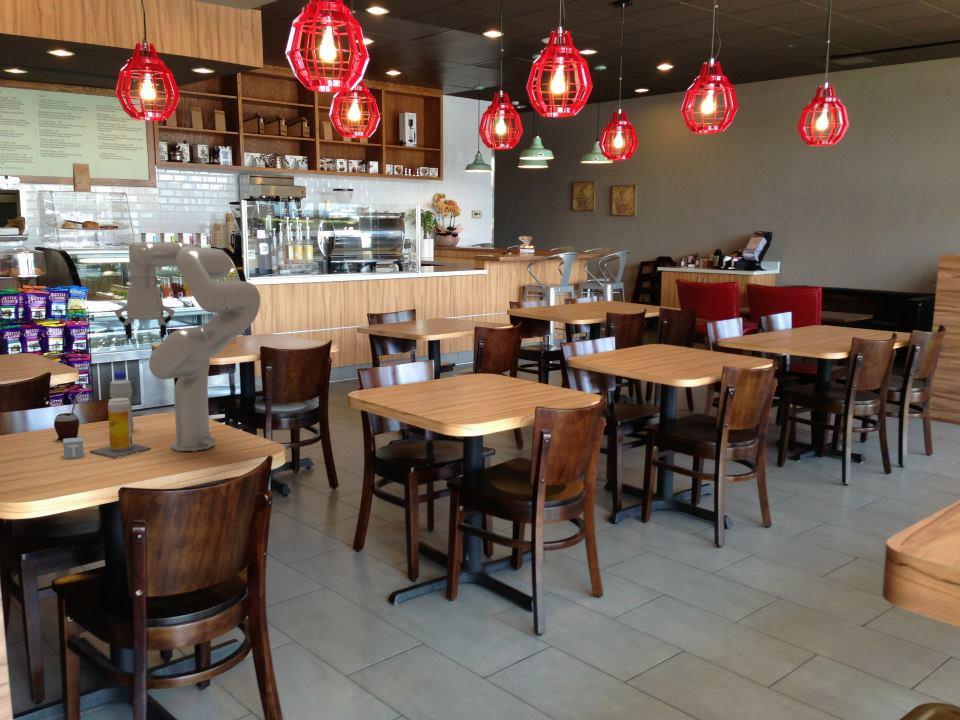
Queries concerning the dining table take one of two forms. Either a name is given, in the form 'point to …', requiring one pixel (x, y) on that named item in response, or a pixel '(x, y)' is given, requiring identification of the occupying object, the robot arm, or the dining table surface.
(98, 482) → the dining table surface
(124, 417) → the beer can
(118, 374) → the bottle
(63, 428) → the mate gourd
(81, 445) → the letter block
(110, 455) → the coaster
